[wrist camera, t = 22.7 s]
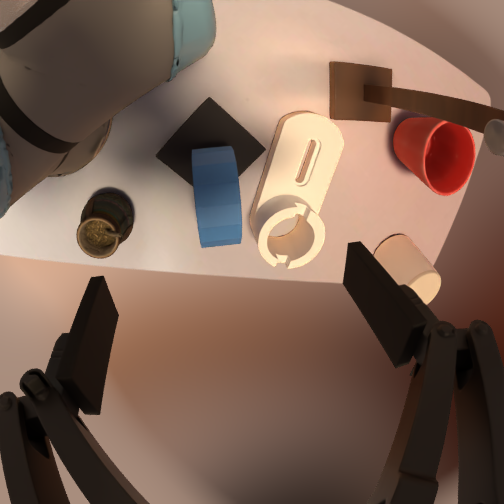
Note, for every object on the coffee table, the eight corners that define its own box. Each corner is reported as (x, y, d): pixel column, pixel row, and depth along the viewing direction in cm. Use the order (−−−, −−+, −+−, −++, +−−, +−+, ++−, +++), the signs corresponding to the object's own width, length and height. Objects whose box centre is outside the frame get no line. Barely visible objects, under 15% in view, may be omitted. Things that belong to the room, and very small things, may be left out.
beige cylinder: (444, 260, 40) (410, 226, 49) (397, 286, 41) (368, 248, 50) (442, 304, 46) (414, 270, 55) (401, 328, 47) (377, 290, 56)
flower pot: (384, 178, 44) (421, 202, 35) (382, 108, 38) (424, 119, 30) (434, 170, 44) (472, 191, 36) (434, 107, 38) (477, 119, 30)
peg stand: (271, 118, 37) (504, 272, 7) (269, 59, 33) (540, 26, 3) (384, 120, 39) (606, 232, 9) (386, 68, 35) (626, 127, 5)
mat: (156, 155, 37) (155, 156, 36) (209, 96, 34) (209, 97, 34) (212, 201, 41) (213, 203, 41) (265, 148, 39) (266, 149, 38)
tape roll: (203, 265, 33) (190, 164, 27) (200, 221, 42) (192, 142, 36) (244, 261, 33) (238, 159, 27) (232, 218, 42) (227, 139, 37)
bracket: (296, 248, 48) (310, 272, 42) (242, 238, 45) (249, 263, 39) (343, 124, 38) (366, 132, 33) (285, 103, 36) (301, 107, 30)
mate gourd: (78, 204, 38) (52, 238, 29) (119, 175, 37) (97, 203, 29) (107, 243, 42) (89, 283, 33) (148, 217, 41) (136, 254, 32)
